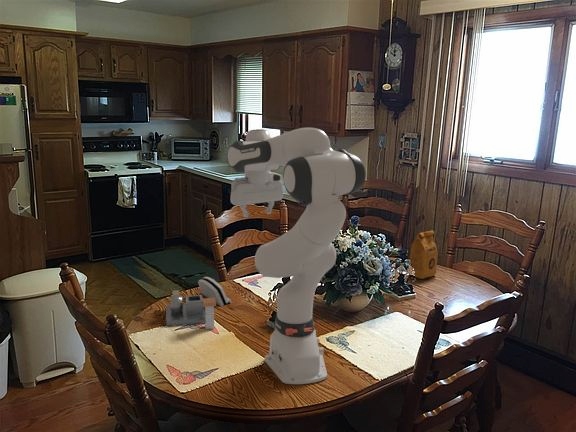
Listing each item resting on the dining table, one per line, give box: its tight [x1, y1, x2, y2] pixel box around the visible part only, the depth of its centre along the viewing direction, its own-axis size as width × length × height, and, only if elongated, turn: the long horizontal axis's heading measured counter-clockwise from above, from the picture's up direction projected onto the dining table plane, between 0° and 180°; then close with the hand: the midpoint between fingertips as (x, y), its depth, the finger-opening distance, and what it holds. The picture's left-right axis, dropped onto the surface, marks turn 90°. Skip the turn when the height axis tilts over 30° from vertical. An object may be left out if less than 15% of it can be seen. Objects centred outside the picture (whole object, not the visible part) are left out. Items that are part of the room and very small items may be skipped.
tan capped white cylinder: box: [202, 297, 217, 331], centre depth 175 cm, size 4×4×10 cm
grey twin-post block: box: [165, 289, 205, 327], centre depth 184 cm, size 16×14×8 cm
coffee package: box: [409, 230, 438, 280], centre depth 231 cm, size 10×12×22 cm
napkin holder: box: [197, 276, 233, 307], centre depth 200 cm, size 17×5×10 cm, turn 38°
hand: (257, 215), depth 174 cm, fingers open, 8 cm apart
